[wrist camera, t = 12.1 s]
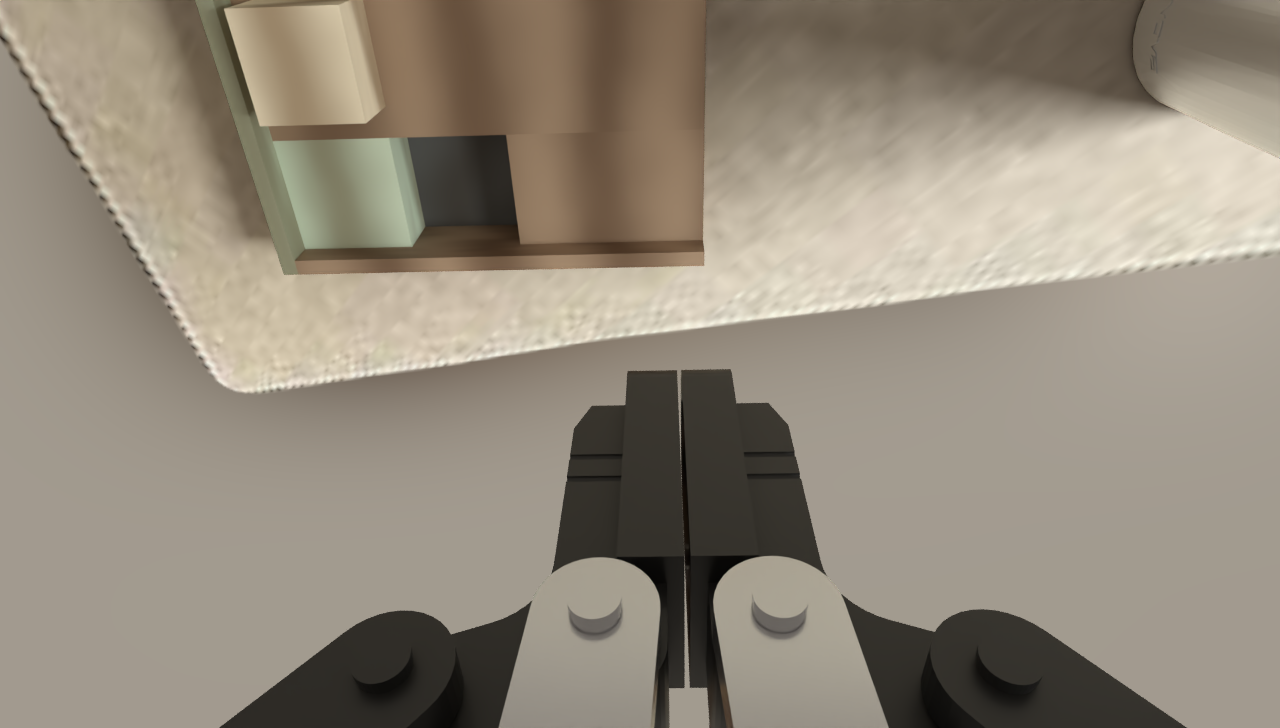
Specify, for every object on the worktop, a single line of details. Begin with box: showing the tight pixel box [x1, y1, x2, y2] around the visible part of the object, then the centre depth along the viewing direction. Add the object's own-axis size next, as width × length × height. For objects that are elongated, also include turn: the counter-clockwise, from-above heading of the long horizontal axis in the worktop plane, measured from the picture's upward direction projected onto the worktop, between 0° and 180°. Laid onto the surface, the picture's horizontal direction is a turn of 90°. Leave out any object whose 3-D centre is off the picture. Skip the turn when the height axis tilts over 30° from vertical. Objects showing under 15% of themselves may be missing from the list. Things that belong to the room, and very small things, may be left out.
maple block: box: [224, 0, 386, 126], centre depth 35 cm, size 5×5×3 cm
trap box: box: [195, 0, 706, 275], centre depth 36 cm, size 23×22×4 cm
